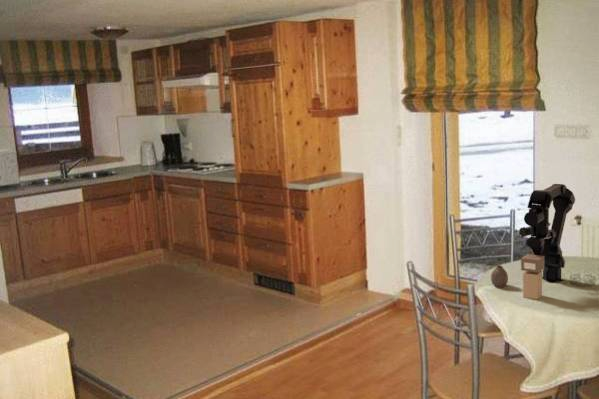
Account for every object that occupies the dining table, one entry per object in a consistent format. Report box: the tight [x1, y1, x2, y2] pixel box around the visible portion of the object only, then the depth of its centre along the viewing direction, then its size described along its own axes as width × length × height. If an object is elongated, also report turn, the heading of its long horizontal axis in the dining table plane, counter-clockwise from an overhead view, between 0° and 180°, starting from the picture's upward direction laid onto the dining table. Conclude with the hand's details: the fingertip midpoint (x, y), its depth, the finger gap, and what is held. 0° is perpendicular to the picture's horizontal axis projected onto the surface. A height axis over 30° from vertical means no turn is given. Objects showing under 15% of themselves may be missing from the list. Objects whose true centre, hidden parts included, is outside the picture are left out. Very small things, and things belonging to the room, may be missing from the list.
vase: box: [490, 264, 509, 288], centre depth 270 cm, size 7×7×9 cm
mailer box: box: [522, 270, 543, 300], centre depth 255 cm, size 6×6×10 cm
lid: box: [520, 253, 544, 273], centre depth 253 cm, size 7×7×5 cm
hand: (540, 257), depth 262 cm, fingers open, 9 cm apart
